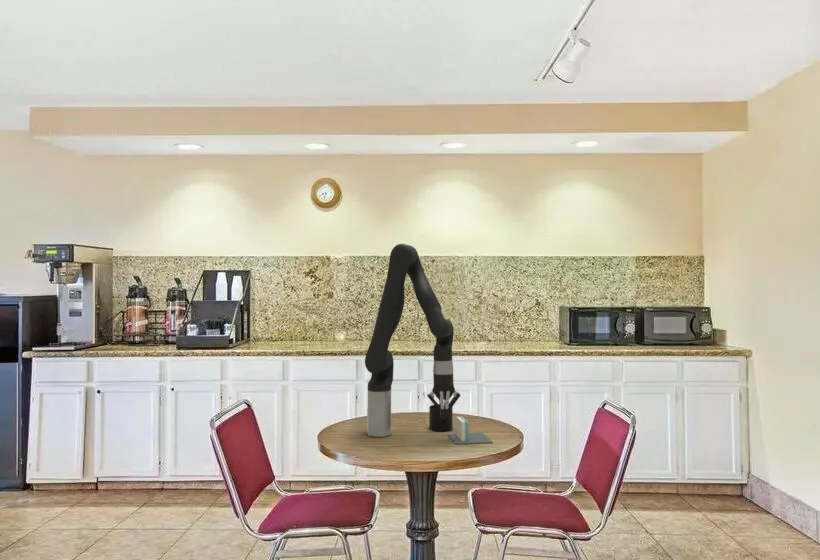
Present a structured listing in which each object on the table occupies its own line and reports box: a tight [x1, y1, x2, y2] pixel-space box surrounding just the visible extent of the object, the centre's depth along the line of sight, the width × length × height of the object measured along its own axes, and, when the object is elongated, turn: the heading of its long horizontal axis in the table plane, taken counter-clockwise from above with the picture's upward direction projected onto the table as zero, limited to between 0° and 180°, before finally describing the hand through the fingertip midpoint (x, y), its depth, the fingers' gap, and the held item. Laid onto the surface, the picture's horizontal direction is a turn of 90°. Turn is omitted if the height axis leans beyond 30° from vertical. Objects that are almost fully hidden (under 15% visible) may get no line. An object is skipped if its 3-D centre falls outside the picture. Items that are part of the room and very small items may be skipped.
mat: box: [446, 432, 494, 446], centre depth 208 cm, size 14×14×1 cm
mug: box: [428, 404, 454, 433], centre depth 225 cm, size 9×12×9 cm
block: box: [455, 416, 469, 441], centre depth 208 cm, size 2×9×7 cm, turn 8°
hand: (444, 418), depth 207 cm, fingers closed
